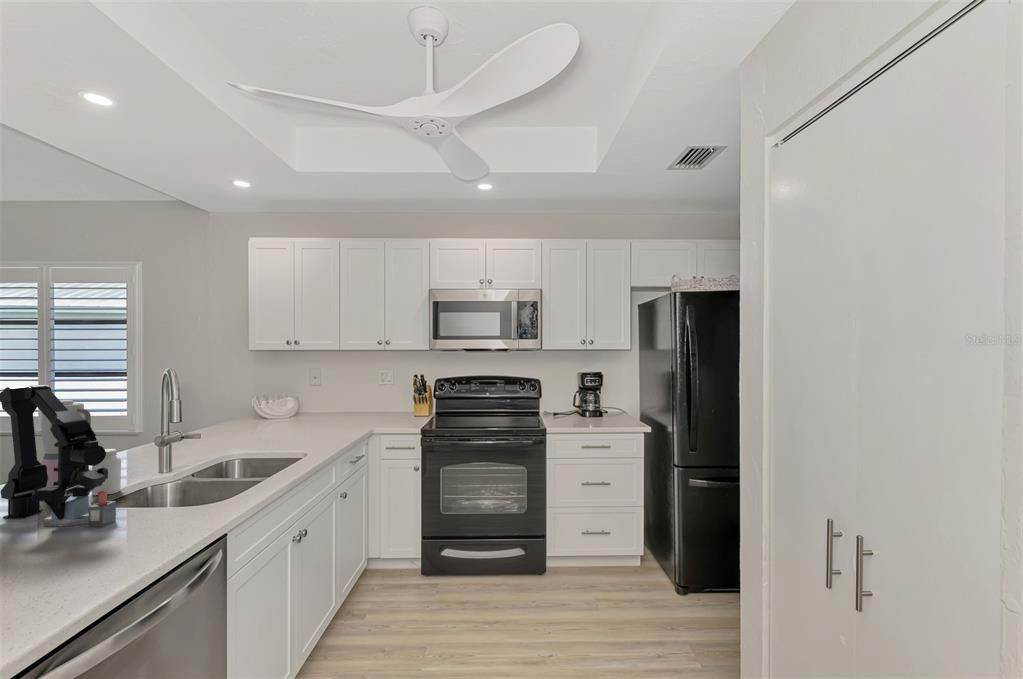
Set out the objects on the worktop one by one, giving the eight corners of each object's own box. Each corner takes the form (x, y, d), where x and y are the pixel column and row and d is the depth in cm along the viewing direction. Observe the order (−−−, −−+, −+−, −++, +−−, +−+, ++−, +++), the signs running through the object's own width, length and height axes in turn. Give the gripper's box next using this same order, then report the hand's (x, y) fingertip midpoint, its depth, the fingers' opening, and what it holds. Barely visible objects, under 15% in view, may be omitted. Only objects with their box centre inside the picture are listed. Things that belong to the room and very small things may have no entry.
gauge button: (96, 510, 143) (96, 493, 143) (101, 507, 145) (101, 490, 145) (103, 510, 143) (103, 493, 143) (108, 507, 145) (108, 491, 145)
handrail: (43, 525, 142) (43, 519, 142) (50, 522, 145) (51, 516, 145) (90, 525, 143) (90, 519, 143) (96, 522, 145) (96, 516, 145)
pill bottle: (104, 497, 168) (104, 453, 168) (85, 495, 170) (85, 452, 170) (126, 490, 176) (127, 448, 176) (108, 488, 177) (108, 447, 177)
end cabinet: (87, 527, 141) (87, 507, 141) (101, 521, 147) (102, 501, 147) (102, 527, 142) (102, 507, 142) (115, 521, 147) (115, 501, 147)
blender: (27, 495, 168) (29, 402, 168) (60, 485, 180) (62, 398, 180) (73, 496, 168) (74, 403, 168) (103, 486, 180) (104, 399, 180)
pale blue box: (51, 519, 141) (51, 502, 141) (67, 512, 146) (67, 496, 146) (73, 519, 141) (73, 502, 141) (88, 512, 147) (88, 496, 147)
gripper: (72, 471, 135) (71, 527, 135) (123, 454, 153) (122, 504, 154) (30, 470, 134) (29, 527, 134) (86, 454, 153) (85, 504, 153)
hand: (70, 515), depth 144 cm, fingers open, 6 cm apart
